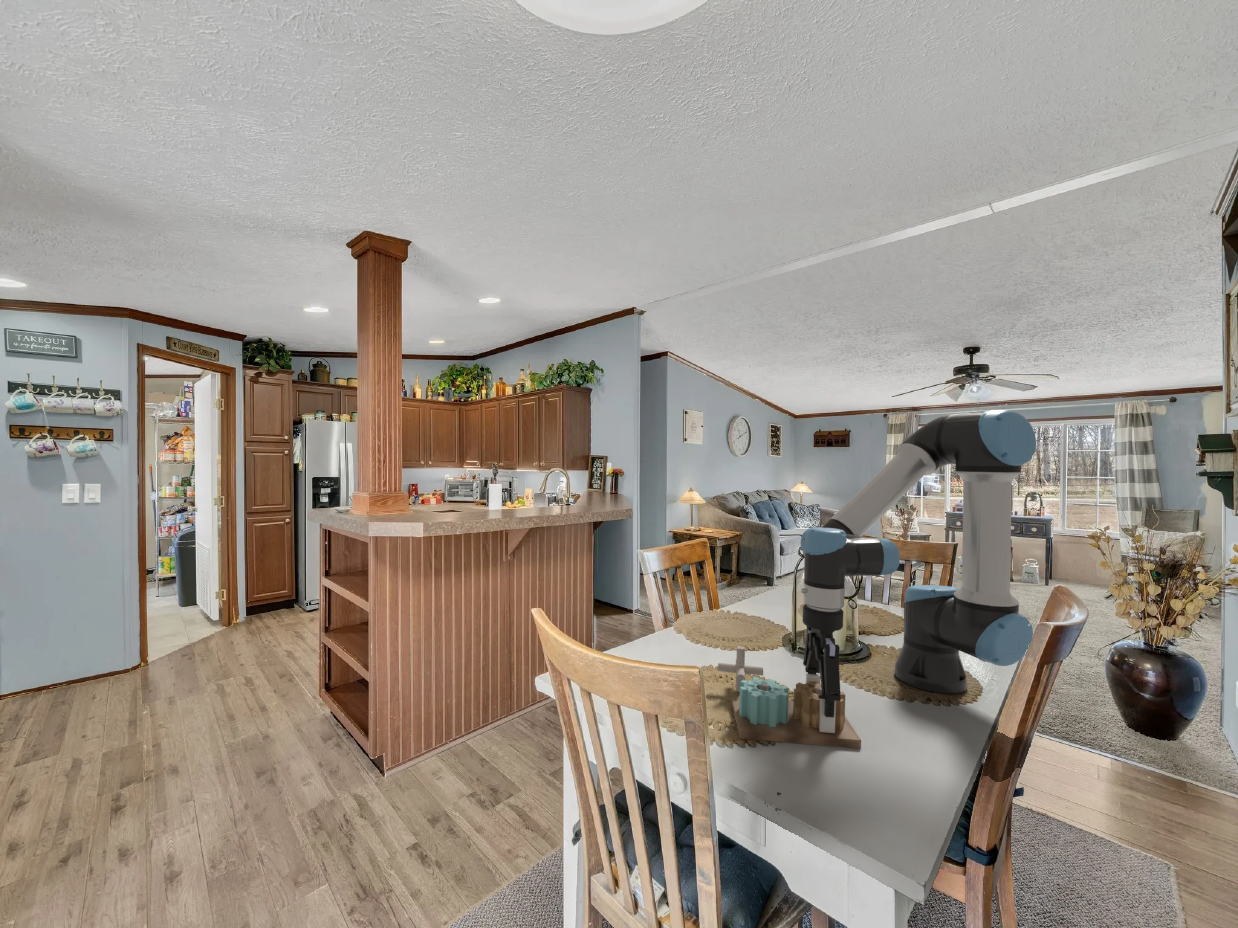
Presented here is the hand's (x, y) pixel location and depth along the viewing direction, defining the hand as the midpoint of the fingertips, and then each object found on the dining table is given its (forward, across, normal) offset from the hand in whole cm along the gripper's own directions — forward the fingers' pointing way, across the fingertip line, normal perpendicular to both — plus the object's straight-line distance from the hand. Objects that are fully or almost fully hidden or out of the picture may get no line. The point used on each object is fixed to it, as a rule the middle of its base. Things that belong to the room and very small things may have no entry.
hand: (819, 717), depth 103 cm
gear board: (+2, 0, -5) cm, 6 cm away
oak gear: (0, 0, 0) cm, 0 cm away
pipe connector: (+2, -14, -14) cm, 19 cm away
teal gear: (0, 0, -11) cm, 11 cm away
